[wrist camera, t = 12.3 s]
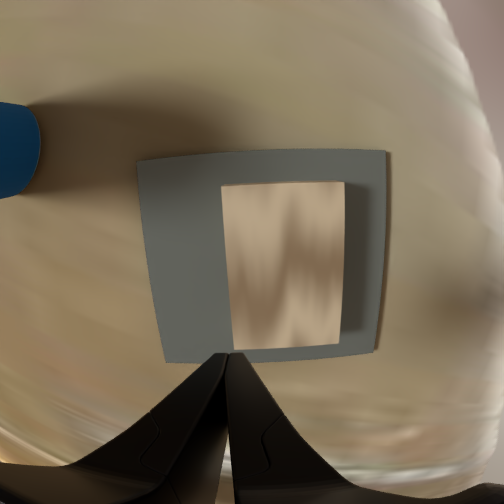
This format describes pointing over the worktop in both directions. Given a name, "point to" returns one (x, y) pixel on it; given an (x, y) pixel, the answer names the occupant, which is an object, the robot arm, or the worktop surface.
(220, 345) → the mat
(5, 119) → the beverage can
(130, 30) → the worktop surface
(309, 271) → the rectangular block
